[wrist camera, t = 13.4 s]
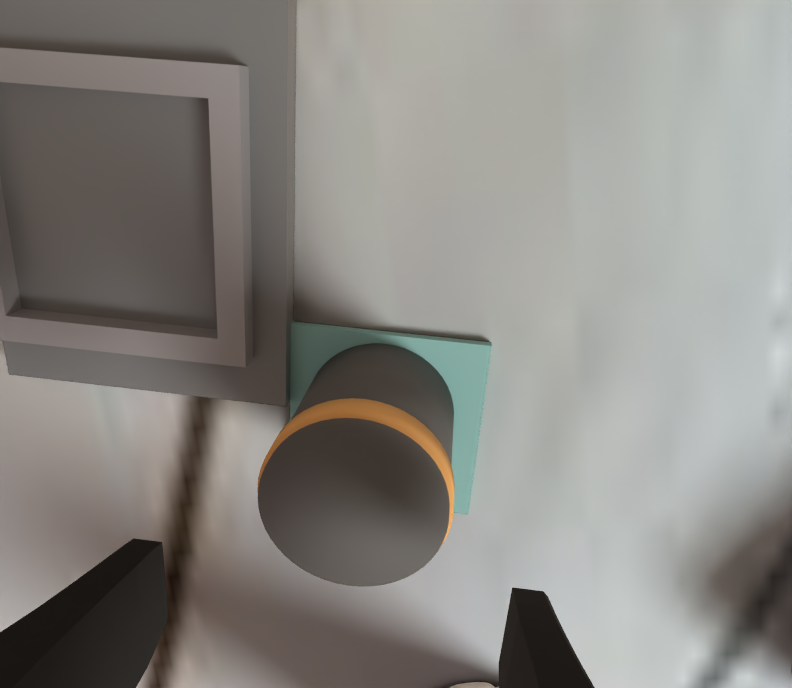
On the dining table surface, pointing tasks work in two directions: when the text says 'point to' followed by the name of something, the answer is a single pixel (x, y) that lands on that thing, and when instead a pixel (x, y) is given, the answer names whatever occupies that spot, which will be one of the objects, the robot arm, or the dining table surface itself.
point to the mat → (449, 356)
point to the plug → (363, 469)
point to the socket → (149, 194)
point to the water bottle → (474, 685)
